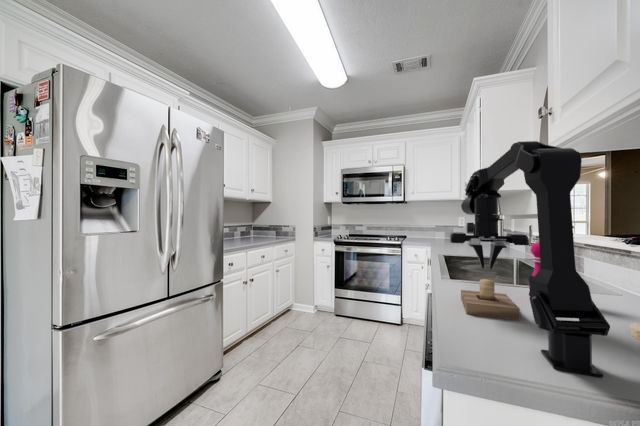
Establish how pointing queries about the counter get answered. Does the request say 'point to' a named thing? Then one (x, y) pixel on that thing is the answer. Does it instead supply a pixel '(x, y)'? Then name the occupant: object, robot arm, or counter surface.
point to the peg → (487, 290)
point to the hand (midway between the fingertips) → (486, 268)
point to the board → (490, 305)
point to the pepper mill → (536, 257)
